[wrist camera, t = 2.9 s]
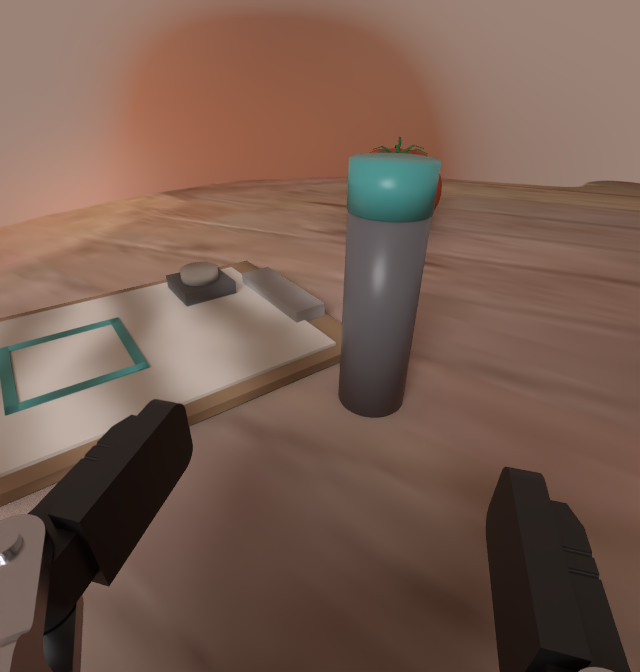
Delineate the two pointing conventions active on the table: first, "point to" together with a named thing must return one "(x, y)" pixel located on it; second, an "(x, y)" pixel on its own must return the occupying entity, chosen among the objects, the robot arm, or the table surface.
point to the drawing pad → (149, 360)
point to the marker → (383, 275)
